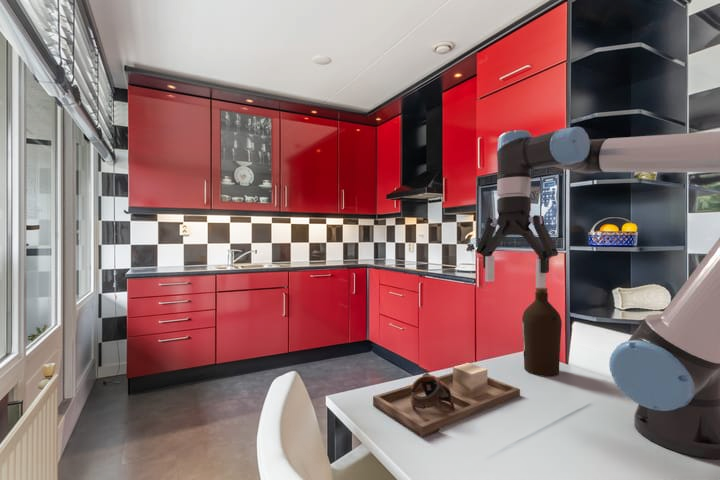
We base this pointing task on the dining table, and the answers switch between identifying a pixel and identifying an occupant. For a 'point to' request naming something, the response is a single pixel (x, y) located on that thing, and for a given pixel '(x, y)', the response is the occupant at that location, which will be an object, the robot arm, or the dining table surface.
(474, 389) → the beech block
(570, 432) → the dining table surface
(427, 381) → the pottery mug
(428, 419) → the walnut tray
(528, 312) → the olive oil
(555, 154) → the robot arm
